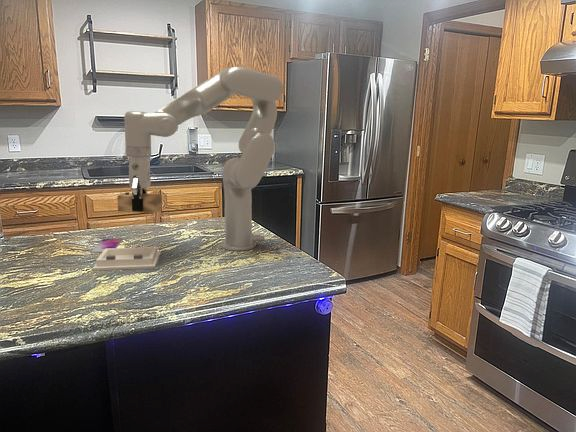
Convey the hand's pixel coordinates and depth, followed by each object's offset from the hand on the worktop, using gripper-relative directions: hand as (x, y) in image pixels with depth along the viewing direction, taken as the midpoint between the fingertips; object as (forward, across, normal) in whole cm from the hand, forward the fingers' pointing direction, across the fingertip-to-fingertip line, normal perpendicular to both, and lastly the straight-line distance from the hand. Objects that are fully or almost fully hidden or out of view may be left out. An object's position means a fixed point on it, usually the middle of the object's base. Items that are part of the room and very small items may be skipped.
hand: (140, 208), depth 137 cm
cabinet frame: (+17, -4, +3) cm, 17 cm away
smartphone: (+18, +13, +14) cm, 26 cm away
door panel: (+1, 0, 0) cm, 1 cm away
